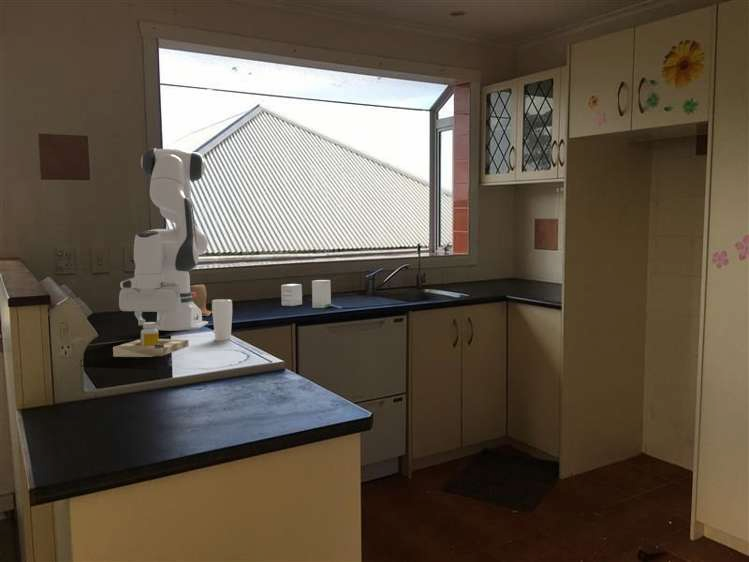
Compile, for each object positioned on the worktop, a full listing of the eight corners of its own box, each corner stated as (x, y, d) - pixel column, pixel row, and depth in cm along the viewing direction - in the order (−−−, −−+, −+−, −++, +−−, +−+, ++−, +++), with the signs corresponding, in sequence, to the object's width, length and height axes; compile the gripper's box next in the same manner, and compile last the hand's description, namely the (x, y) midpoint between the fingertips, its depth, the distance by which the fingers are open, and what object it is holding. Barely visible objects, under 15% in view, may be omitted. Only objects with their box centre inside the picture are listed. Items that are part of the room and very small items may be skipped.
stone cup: (187, 315, 296) (187, 283, 295) (214, 315, 297) (213, 283, 296) (181, 320, 281) (180, 286, 280) (208, 319, 282) (208, 285, 281)
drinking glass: (211, 342, 223) (210, 299, 222) (231, 341, 226) (229, 298, 225) (214, 345, 217) (213, 301, 216) (234, 344, 220) (233, 300, 218)
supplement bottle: (137, 353, 204) (136, 323, 203) (151, 350, 209) (150, 321, 208) (148, 354, 201) (147, 324, 201) (162, 352, 206) (161, 322, 205)
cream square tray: (143, 347, 215) (142, 335, 214) (188, 348, 211) (188, 336, 211) (113, 356, 199) (112, 343, 198) (161, 358, 195) (161, 345, 195)
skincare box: (324, 314, 297) (323, 281, 296) (311, 313, 299) (310, 280, 298) (331, 312, 305) (331, 279, 304) (319, 311, 307) (318, 279, 306)
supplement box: (291, 308, 320) (291, 283, 319) (302, 309, 316) (302, 284, 315) (281, 310, 314) (280, 284, 313) (292, 311, 310) (291, 285, 309)
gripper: (184, 281, 204) (185, 324, 205) (127, 281, 208) (128, 323, 209) (174, 283, 198) (175, 327, 199) (115, 282, 202) (116, 326, 203)
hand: (151, 325), depth 204 cm, fingers open, 5 cm apart
